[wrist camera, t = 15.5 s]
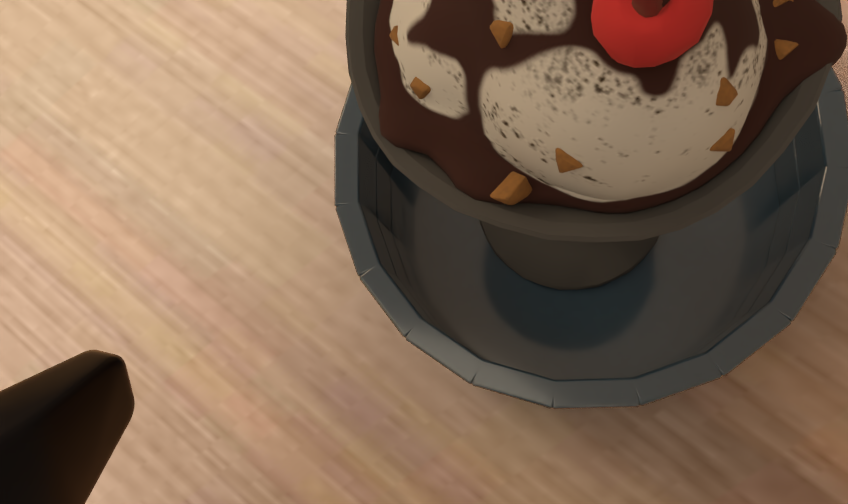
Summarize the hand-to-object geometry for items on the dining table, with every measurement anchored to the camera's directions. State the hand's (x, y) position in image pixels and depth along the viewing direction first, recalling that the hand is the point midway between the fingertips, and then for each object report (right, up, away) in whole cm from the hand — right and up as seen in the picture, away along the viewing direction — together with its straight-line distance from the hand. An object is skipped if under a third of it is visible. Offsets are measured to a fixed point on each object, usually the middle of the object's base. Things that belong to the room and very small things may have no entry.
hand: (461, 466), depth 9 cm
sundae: (+4, +4, +11) cm, 13 cm away
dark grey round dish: (+4, +4, +12) cm, 13 cm away
